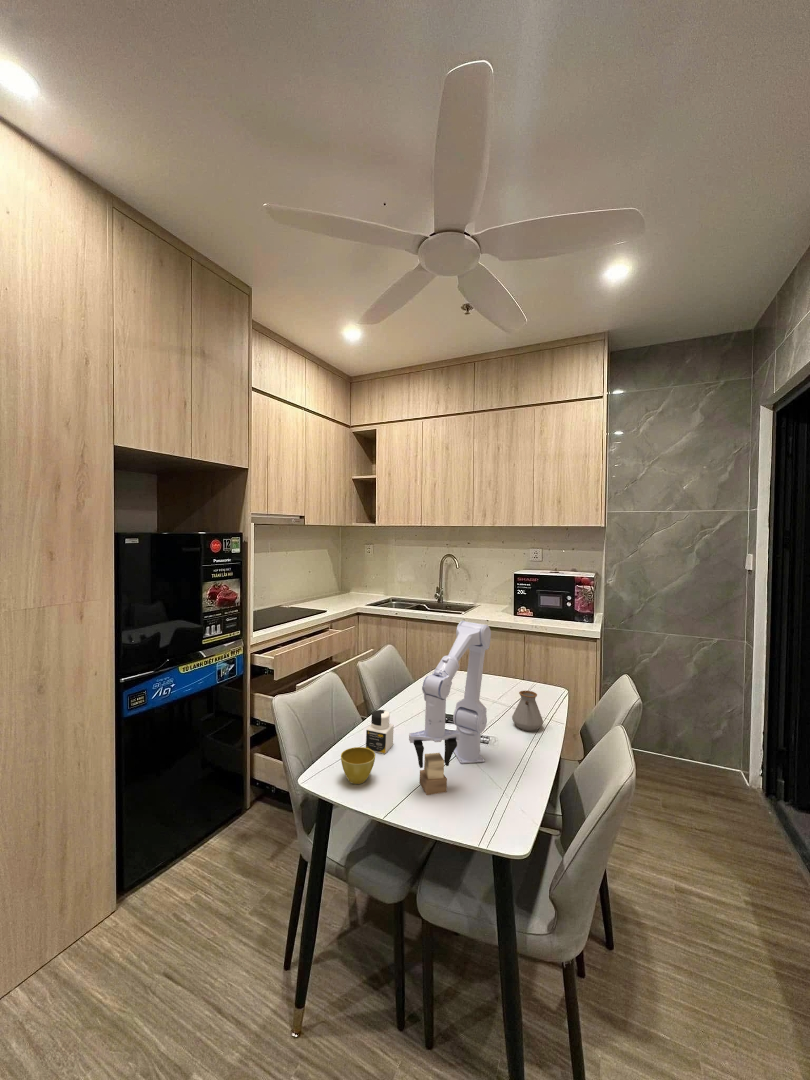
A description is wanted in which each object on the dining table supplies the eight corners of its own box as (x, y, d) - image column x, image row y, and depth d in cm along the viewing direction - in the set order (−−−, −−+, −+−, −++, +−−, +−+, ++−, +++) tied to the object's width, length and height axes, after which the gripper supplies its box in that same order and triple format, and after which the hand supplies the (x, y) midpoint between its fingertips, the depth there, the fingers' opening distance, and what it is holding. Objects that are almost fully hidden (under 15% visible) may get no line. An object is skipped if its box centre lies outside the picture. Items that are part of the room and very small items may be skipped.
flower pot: (357, 766, 136) (358, 743, 135) (381, 778, 129) (382, 754, 129) (332, 779, 128) (333, 755, 128) (357, 793, 121) (358, 768, 121)
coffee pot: (513, 718, 175) (514, 681, 175) (543, 723, 171) (544, 685, 171) (507, 742, 155) (509, 699, 155) (541, 748, 151) (543, 705, 151)
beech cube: (424, 770, 127) (424, 753, 127) (439, 769, 128) (439, 752, 128) (428, 779, 123) (428, 761, 123) (443, 778, 124) (444, 760, 124)
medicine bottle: (365, 750, 146) (366, 714, 146) (374, 740, 152) (375, 706, 152) (385, 754, 143) (386, 718, 143) (393, 744, 150) (394, 710, 150)
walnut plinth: (419, 783, 128) (419, 770, 128) (438, 781, 129) (439, 767, 129) (426, 795, 122) (427, 781, 122) (446, 792, 124) (447, 778, 124)
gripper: (413, 725, 120) (411, 774, 120) (464, 722, 123) (462, 770, 123) (408, 714, 127) (406, 761, 127) (456, 712, 130) (454, 757, 130)
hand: (433, 765), depth 126 cm, fingers open, 7 cm apart
